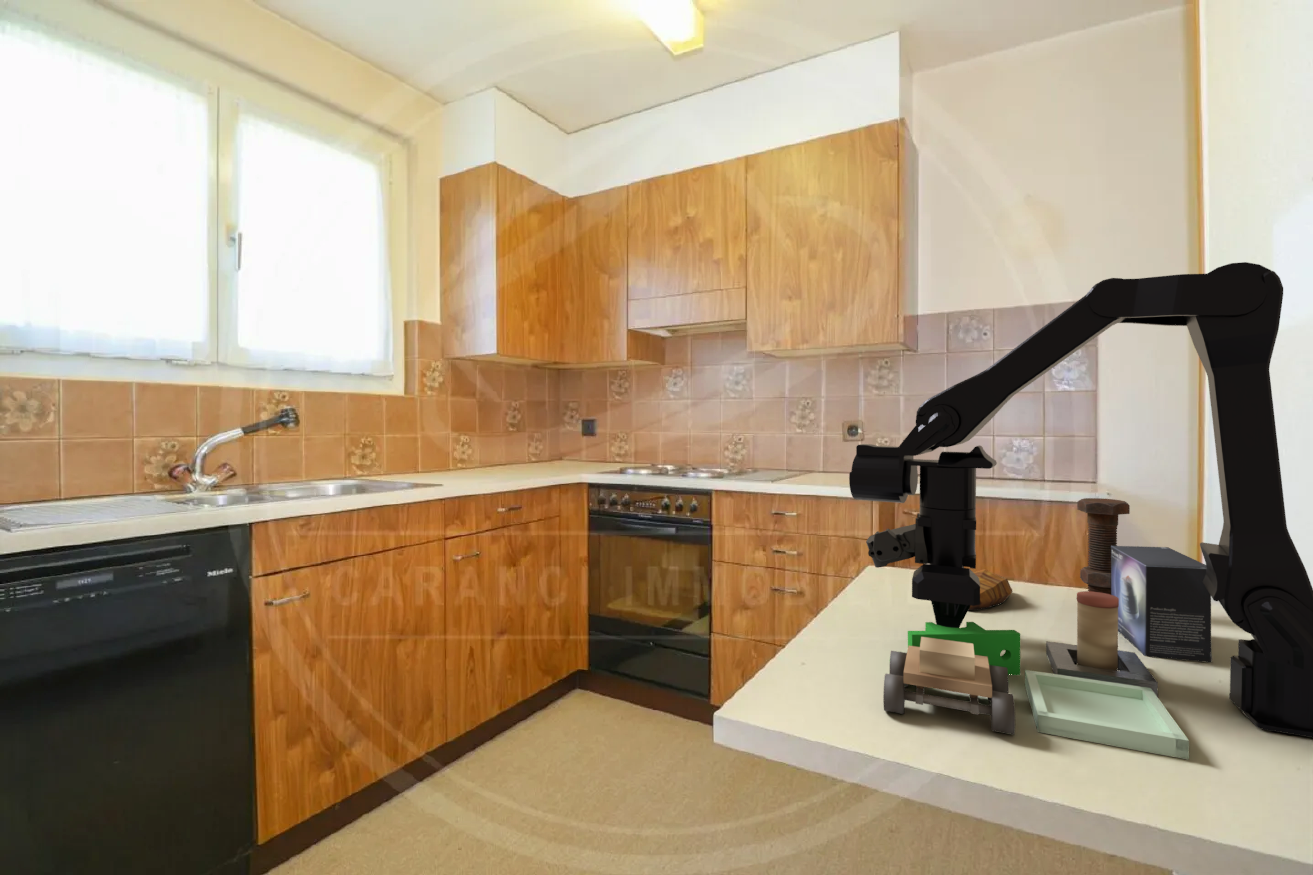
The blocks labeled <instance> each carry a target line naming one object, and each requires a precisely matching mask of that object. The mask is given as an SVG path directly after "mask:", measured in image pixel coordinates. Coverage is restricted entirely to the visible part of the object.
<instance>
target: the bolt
mask: <svg viewBox="0 0 1313 875" xmlns="http://www.w3.org/2000/svg"><path fill="white" fill-rule="evenodd" d="M1076 507H1077V508H1076V509H1077V510H1078V511H1080V512H1083V513H1085V514H1087V517H1086V518H1087V524H1088V525H1087V526H1088V527H1087V529H1088V530H1087V531H1088V532H1087V533H1088V538H1087V540H1088V541H1087V545H1088V546H1087V548H1088V549H1087V550H1088V553H1087V564H1088V565H1087V566H1084V567H1082V568H1081V569H1079V570H1080V571H1079V572H1080V573H1079V578H1080V580H1081V581H1082V582H1083V583H1084V584H1086V585H1087V591H1091V592H1100V593H1106V594H1110V595H1111V546H1118V545H1117V544H1118V525H1119V515H1129V514H1130V513H1131V512H1130V507H1131V506H1130V505H1129V503H1128V502H1127V501H1125V500H1121V499H1113V498H1112V499H1111V498H1102V497H1101V498H1098V497H1092V498H1091V497H1089V498H1088V497H1084V498H1081V499H1079V500H1078V501H1077V506H1076Z"/></svg>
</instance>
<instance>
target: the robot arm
mask: <svg viewBox="0 0 1313 875" xmlns="http://www.w3.org/2000/svg"><path fill="white" fill-rule="evenodd" d="M1283 298H1284V286H1283V283H1282V280H1281V277H1280V276H1279V275H1278V274H1277V273H1276V272H1275V271H1274V270H1271V269H1269V268H1267V267H1265V266H1263V265H1261V264H1259V263H1254V262H1253V263H1252V262H1247V261H1246V262H1245V261H1244V262H1231V263H1228V264H1225V265H1222V266H1218V267H1216V268H1214V269H1213V270H1211V271H1210V272H1208V273H1183V274H1182V273H1181V274H1170V275H1162V276H1161V275H1160V276H1151V277H1140V278H1123V277H1122V278H1121V277H1119V278H1118V277H1111V278H1105V279H1102V280H1101V281H1098V282H1097V283H1095V284H1094V285H1093V286H1092V287H1091V288H1090V289H1089V290H1088V292H1087V293H1086V294H1085V295H1084V296H1082V297H1081V298H1080V299H1078V300H1077V301H1076V302H1075V303H1073V304H1072V305H1070V306H1069V307H1068V308H1067V309H1065V310H1063V311H1062V312H1061V313H1060V314H1058V315H1057V316H1056V317H1054V318H1053V319H1052V320H1051V321H1049V322H1048V323H1047V324H1045V325H1044V326H1042V327H1041V328H1040V329H1038V330H1037V331H1036V332H1034V333H1033V334H1032V335H1031V336H1029V337H1028V338H1027V339H1025V340H1024V341H1023V342H1021V343H1020V344H1018V345H1017V346H1016V347H1015V348H1013V349H1012V350H1010V351H1009V352H1008V353H1007V354H1005V355H1004V356H1002V357H1001V358H1000V359H998V360H997V361H996V362H994V363H993V364H992V365H990V366H989V367H988V368H986V369H985V370H983V371H981V372H979V373H977V374H976V375H973V376H970V377H968V378H967V379H965V380H962V381H960V382H958V383H956V384H954V385H952V386H950V387H948V388H946V389H945V390H943V391H941V392H938V393H937V394H935V395H932V396H931V397H929V398H928V399H926V400H925V401H924V402H922V403H921V405H920V406H918V409H917V411H916V416H915V426H914V427H913V428H912V430H910V432H909V434H907V435H906V436H905V438H904V439H902V441H901V443H900V445H898V446H887V445H876V444H871V443H868V444H867V443H866V444H865V443H864V444H863V443H862V444H857V445H856V446H855V448H856V450H855V451H856V452H855V456H854V458H853V461H852V466H851V470H850V471H849V473H848V474H849V475H848V476H849V477H848V478H849V480H848V482H849V484H848V485H849V490H850V494H851V496H852V498H853V500H858V501H859V500H861V501H870V502H871V501H872V502H883V503H898V504H904V503H905V502H907V499H908V496H910V495H911V496H915V494H916V492H917V489H918V481H919V513H917V514H916V517H915V520H914V522H915V523H914V524H909V525H905V526H900V527H897V528H893V529H890V528H886V529H885V530H883V531H879V530H878V531H876V532H874V534H871V535H870V536H868V537H867V539H866V546H867V548H868V552H867V554H868V556H869V557H870V558H871V559H872V562H873V565H874V567H875V568H876V569H877V568H883V567H887V566H888V564H892V563H897V562H901V561H905V560H908V559H909V560H910V559H912V558H914V563H915V564H922V565H920V566H919V567H918V568H916V569H915V570H914V572H913V575H912V577H911V597H912V598H913V599H916V600H921V601H930V602H931V605H932V611H933V615H934V620H935V624H937V625H940V626H944V627H950V628H961V625H962V624H963V621H964V619H965V617H966V616H967V613H968V612H969V611H970V610H969V608H970V606H976V605H980V581H979V578H978V577H977V576H976V575H975V574H974V573H973V572H974V571H973V570H974V569H976V567H977V565H976V564H977V553H976V530H977V516H976V514H977V511H976V510H977V508H976V503H977V498H976V497H977V469H984V470H985V469H986V470H988V469H989V470H990V469H992V468H993V467H995V466H996V465H997V464H998V462H997V460H996V459H994V458H993V457H991V456H990V455H989V454H988V453H987V452H986V451H985V449H984V447H983V446H982V445H976V446H974V447H973V449H972V450H970V451H941V452H940V454H939V458H938V459H919V458H918V459H917V458H916V459H914V457H916V456H919V455H923V454H927V453H931V452H934V451H935V450H937V449H939V448H949V447H954V446H958V445H962V444H965V443H967V442H969V441H970V440H972V439H973V438H974V437H975V436H976V435H977V434H978V433H979V432H980V431H981V430H982V429H983V428H984V427H985V426H986V425H987V424H988V423H989V422H990V421H991V420H992V419H993V418H994V417H995V416H996V414H998V412H999V411H1001V410H1002V408H1003V407H1004V406H1005V405H1006V404H1007V403H1008V402H1009V401H1010V400H1011V399H1012V398H1013V397H1014V396H1015V395H1017V394H1018V393H1019V392H1021V391H1022V390H1023V389H1026V388H1027V387H1028V386H1030V385H1031V384H1032V383H1034V382H1035V381H1036V380H1038V379H1039V378H1041V377H1042V376H1044V375H1045V374H1046V373H1047V372H1049V371H1050V370H1052V369H1054V368H1055V367H1057V365H1059V364H1060V363H1062V362H1063V361H1064V360H1066V359H1068V358H1069V357H1070V356H1071V355H1073V354H1074V353H1076V352H1077V351H1079V350H1080V349H1081V348H1084V346H1085V345H1087V344H1089V343H1090V342H1091V341H1093V340H1094V339H1096V338H1097V337H1098V336H1100V335H1101V334H1103V333H1104V332H1105V331H1106V330H1108V329H1109V328H1111V327H1113V326H1115V325H1116V324H1133V325H1134V324H1137V325H1148V326H1149V325H1152V326H1164V327H1165V326H1169V327H1187V330H1188V333H1189V335H1190V339H1191V341H1192V343H1193V344H1192V345H1193V346H1194V349H1195V350H1196V353H1197V355H1198V357H1199V360H1200V362H1201V364H1202V366H1203V368H1204V371H1205V373H1206V375H1207V382H1208V389H1209V399H1210V406H1211V407H1210V408H1211V409H1210V410H1211V417H1212V419H1211V420H1212V428H1213V437H1214V446H1215V454H1216V463H1217V472H1218V474H1217V475H1218V482H1219V491H1220V498H1221V509H1222V517H1223V519H1222V520H1223V524H1222V528H1221V529H1222V530H1221V534H1220V537H1219V542H1218V544H1217V543H1208V542H1200V543H1199V546H1200V550H1201V553H1202V556H1203V559H1204V562H1205V565H1206V576H1205V578H1204V580H1203V584H1204V585H1205V587H1206V588H1207V590H1208V592H1209V593H1210V595H1211V599H1212V600H1213V601H1215V602H1218V603H1219V604H1220V605H1221V607H1222V608H1223V610H1224V612H1225V614H1226V615H1227V616H1228V617H1229V619H1230V620H1231V622H1232V623H1234V624H1235V625H1236V626H1237V627H1239V628H1240V629H1241V630H1242V631H1244V633H1245V632H1246V633H1248V634H1250V635H1251V637H1252V639H1238V644H1237V645H1238V651H1237V652H1238V654H1237V655H1232V656H1231V657H1230V663H1229V664H1230V672H1229V675H1230V676H1229V695H1228V696H1229V697H1228V698H1229V700H1230V701H1231V702H1232V704H1234V705H1235V706H1236V707H1237V708H1238V709H1239V710H1240V711H1241V712H1242V713H1243V715H1244V716H1246V717H1247V718H1248V719H1249V720H1250V721H1251V722H1252V724H1254V726H1256V727H1257V728H1258V729H1261V730H1264V731H1270V732H1276V733H1282V734H1289V735H1293V736H1294V735H1295V736H1302V737H1307V738H1308V737H1309V738H1313V586H1312V583H1311V581H1310V577H1309V575H1308V571H1307V570H1306V568H1305V565H1304V563H1303V561H1302V559H1301V556H1300V554H1299V552H1298V550H1297V548H1296V546H1295V543H1294V541H1293V539H1292V537H1291V535H1290V533H1289V529H1288V525H1287V518H1286V510H1285V499H1284V490H1283V480H1282V474H1281V473H1282V472H1281V465H1280V454H1279V446H1278V437H1277V429H1276V428H1277V427H1276V420H1275V419H1276V418H1275V412H1274V411H1275V410H1274V401H1273V393H1272V384H1271V375H1270V374H1271V373H1270V365H1271V360H1272V357H1273V353H1274V348H1275V345H1276V340H1277V336H1278V332H1279V328H1280V321H1281V314H1282V306H1283ZM918 467H919V472H918ZM918 476H919V478H918ZM918 479H919V480H918ZM971 569H973V570H971Z"/></svg>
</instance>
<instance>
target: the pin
mask: <svg viewBox="0 0 1313 875" xmlns="http://www.w3.org/2000/svg"><path fill="white" fill-rule="evenodd" d="M1076 602H1077V603H1076V604H1077V607H1076V610H1077V616H1076V617H1077V618H1076V619H1077V620H1076V621H1077V622H1076V623H1077V624H1076V635H1077V636H1076V640H1077V641H1076V645H1077V663H1076V665H1081V666H1088V667H1095V668H1102V669H1109V670H1117V671H1119V669H1118V650H1119V632H1118V606H1119V598H1118V597H1116V596H1113V595H1110V594H1106V593H1100V592H1091V591H1088V590H1085V591H1078V592H1077V593H1076Z"/></svg>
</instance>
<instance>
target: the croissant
mask: <svg viewBox="0 0 1313 875" xmlns="http://www.w3.org/2000/svg"><path fill="white" fill-rule="evenodd" d="M972 572H973V573H974V574H975V575H976V576H977V577H978V578H979V581H980V605H976V606H970V608H969V610H968V611H980V610H985V609H990V608H991V607H995V606H996V607H997V606H999V605H998V604H1000V603H1002V604H1003V603H1004V602H1005V601H1006V600H1007V599H1008V598H1009V597H1010V596H1011V595H1012V593H1013V588H1012V586H1011V585H1010V582H1009V580H1008V578H1007V577H1003V576H1001V575H999V574H996V573H994V572H992V571H990V570H988V569H986V568H983V569H980V570H977V571H972ZM1000 605H1001V604H1000Z"/></svg>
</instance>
